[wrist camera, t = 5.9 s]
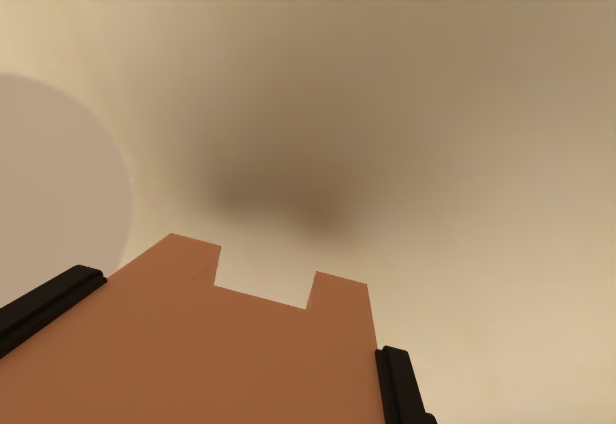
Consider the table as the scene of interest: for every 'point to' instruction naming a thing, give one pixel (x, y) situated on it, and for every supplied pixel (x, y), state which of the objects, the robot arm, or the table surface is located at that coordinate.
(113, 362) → the notched plate
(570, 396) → the table surface
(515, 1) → the table surface
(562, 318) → the table surface
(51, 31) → the table surface
